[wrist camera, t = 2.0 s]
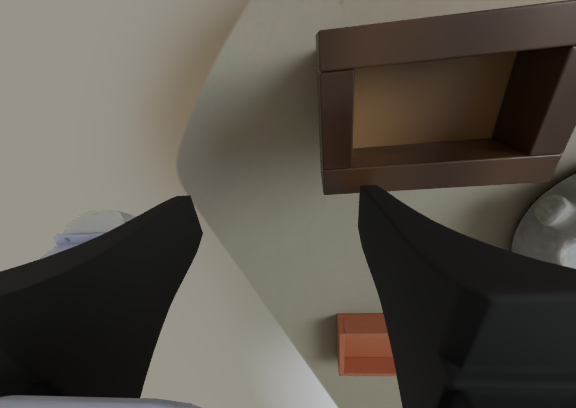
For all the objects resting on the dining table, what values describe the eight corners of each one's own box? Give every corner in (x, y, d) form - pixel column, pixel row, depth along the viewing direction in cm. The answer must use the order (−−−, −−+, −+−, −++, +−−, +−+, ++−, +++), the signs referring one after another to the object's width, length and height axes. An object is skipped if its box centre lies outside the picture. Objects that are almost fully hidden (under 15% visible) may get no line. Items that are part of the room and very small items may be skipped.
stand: (322, 124, 19) (330, 163, 13) (319, 47, 17) (328, 47, 10) (434, 115, 19) (502, 150, 12) (449, 32, 16) (545, 22, 10)
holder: (337, 355, 35) (339, 375, 33) (336, 314, 31) (339, 334, 28) (428, 356, 34) (437, 376, 32) (442, 312, 29) (453, 333, 27)
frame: (320, 172, 13) (323, 195, 11) (315, 33, 10) (317, 30, 8) (510, 160, 12) (550, 182, 10) (565, 3, 9) (638, -9, 7)
